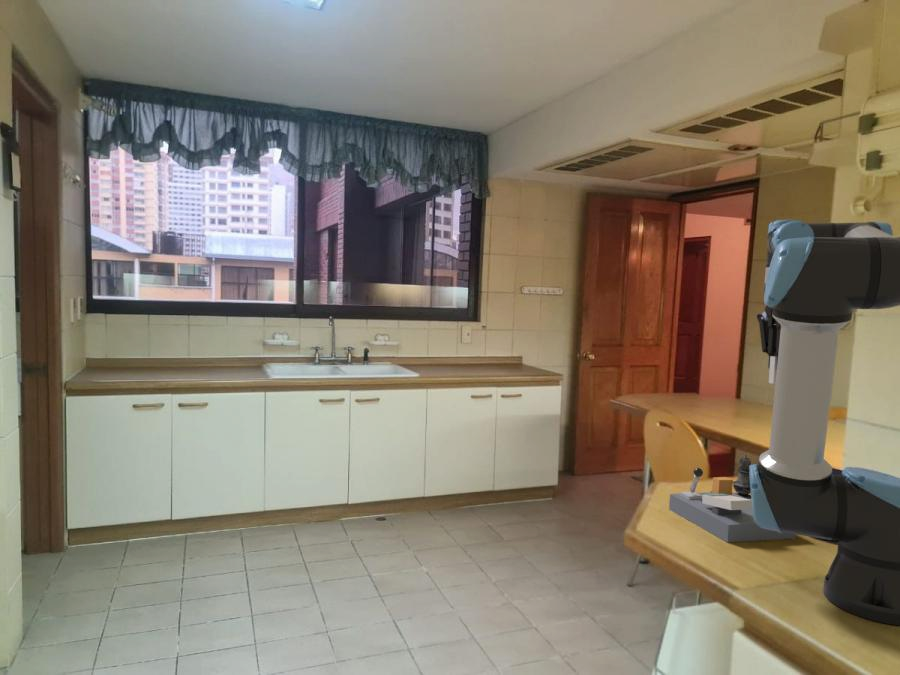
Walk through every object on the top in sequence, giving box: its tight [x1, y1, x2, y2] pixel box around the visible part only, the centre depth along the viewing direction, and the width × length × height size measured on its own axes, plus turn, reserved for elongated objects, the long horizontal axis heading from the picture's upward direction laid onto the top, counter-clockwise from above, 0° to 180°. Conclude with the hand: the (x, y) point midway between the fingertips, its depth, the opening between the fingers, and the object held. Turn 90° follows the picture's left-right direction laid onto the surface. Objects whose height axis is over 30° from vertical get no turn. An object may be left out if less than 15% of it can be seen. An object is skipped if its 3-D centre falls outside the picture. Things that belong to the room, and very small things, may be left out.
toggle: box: [689, 467, 704, 493], centre depth 151 cm, size 2×2×7 cm
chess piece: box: [732, 454, 752, 499], centre depth 167 cm, size 6×6×12 cm
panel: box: [668, 490, 797, 543], centre depth 146 cm, size 22×18×6 cm
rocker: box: [702, 494, 752, 510], centre depth 141 cm, size 10×6×2 cm, turn 13°
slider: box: [711, 476, 733, 495], centre depth 154 cm, size 2×4×4 cm, turn 103°
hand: (775, 383), depth 145 cm, fingers closed
